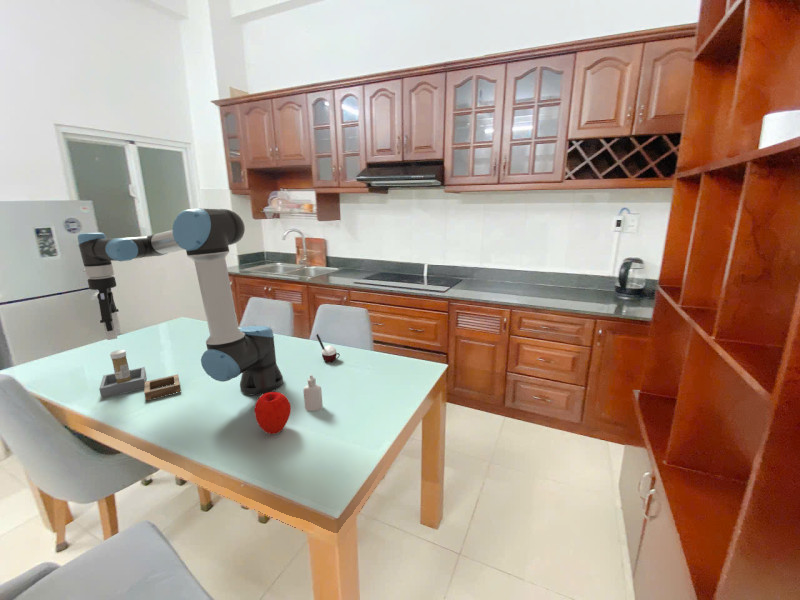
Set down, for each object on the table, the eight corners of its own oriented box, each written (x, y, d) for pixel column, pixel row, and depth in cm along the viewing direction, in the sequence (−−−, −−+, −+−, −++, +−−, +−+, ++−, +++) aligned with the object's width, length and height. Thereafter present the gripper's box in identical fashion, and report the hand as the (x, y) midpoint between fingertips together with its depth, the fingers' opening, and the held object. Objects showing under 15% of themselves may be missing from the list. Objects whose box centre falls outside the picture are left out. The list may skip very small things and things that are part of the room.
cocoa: (341, 360, 156) (341, 334, 153) (332, 365, 151) (332, 338, 148) (324, 356, 160) (323, 330, 157) (315, 360, 155) (314, 334, 152)
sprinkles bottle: (114, 386, 133) (107, 353, 130) (128, 381, 137) (120, 348, 134) (121, 388, 131) (114, 354, 128) (135, 383, 136) (128, 350, 132)
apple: (296, 420, 110) (292, 384, 108) (287, 440, 101) (283, 401, 98) (263, 421, 110) (259, 386, 107) (252, 441, 101) (246, 402, 98)
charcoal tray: (145, 387, 133) (143, 378, 132) (101, 398, 126) (99, 388, 125) (146, 375, 144) (144, 366, 143) (105, 384, 137) (103, 375, 136)
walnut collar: (181, 392, 130) (179, 384, 129) (145, 400, 124) (144, 393, 123) (179, 381, 138) (178, 374, 138) (146, 389, 132) (144, 381, 132)
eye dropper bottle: (312, 403, 120) (309, 370, 117) (324, 407, 117) (322, 374, 115) (303, 409, 117) (299, 375, 114) (315, 413, 114) (312, 379, 111)
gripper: (92, 274, 133) (104, 327, 138) (81, 283, 113) (96, 346, 118) (117, 271, 137) (128, 324, 142) (111, 280, 117) (124, 341, 122)
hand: (114, 334), depth 130 cm, fingers open, 13 cm apart
